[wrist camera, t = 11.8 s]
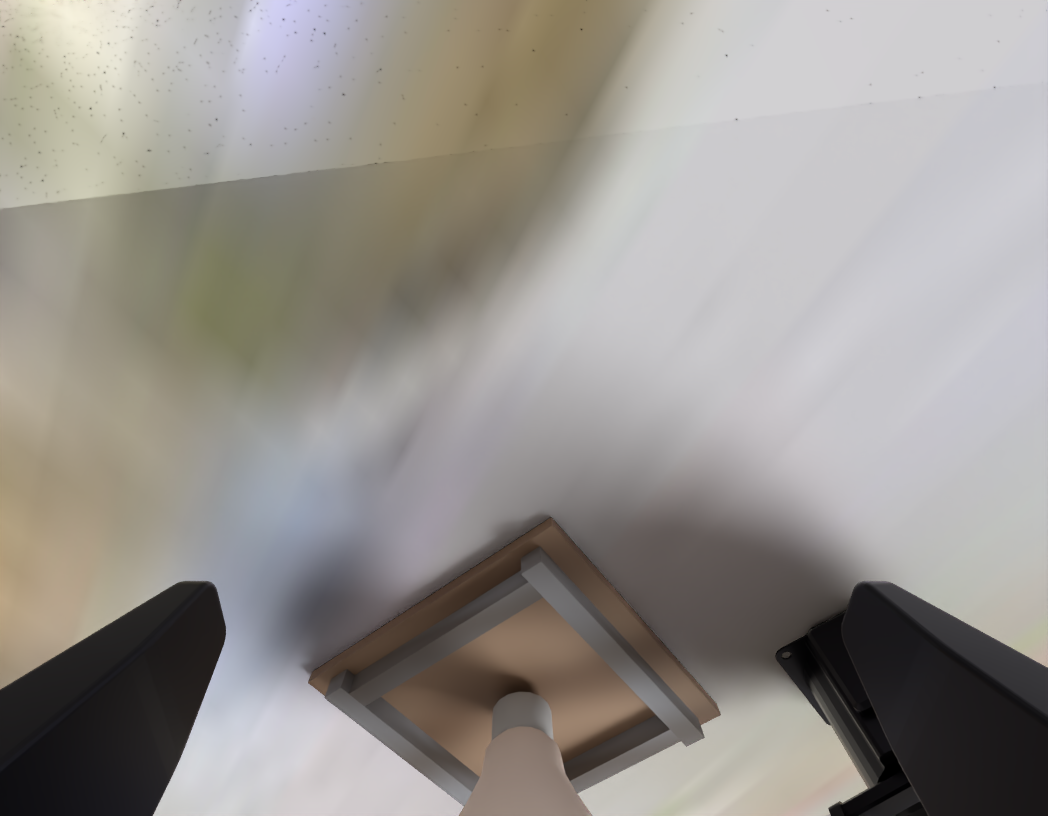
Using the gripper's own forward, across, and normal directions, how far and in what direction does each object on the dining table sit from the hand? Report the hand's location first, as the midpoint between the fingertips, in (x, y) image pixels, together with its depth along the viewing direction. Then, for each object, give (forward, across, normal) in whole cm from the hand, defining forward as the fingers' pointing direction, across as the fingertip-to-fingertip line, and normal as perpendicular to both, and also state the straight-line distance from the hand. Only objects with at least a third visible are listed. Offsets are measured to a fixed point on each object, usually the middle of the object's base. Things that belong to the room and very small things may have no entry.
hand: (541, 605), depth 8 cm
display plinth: (+13, 0, +17) cm, 22 cm away
